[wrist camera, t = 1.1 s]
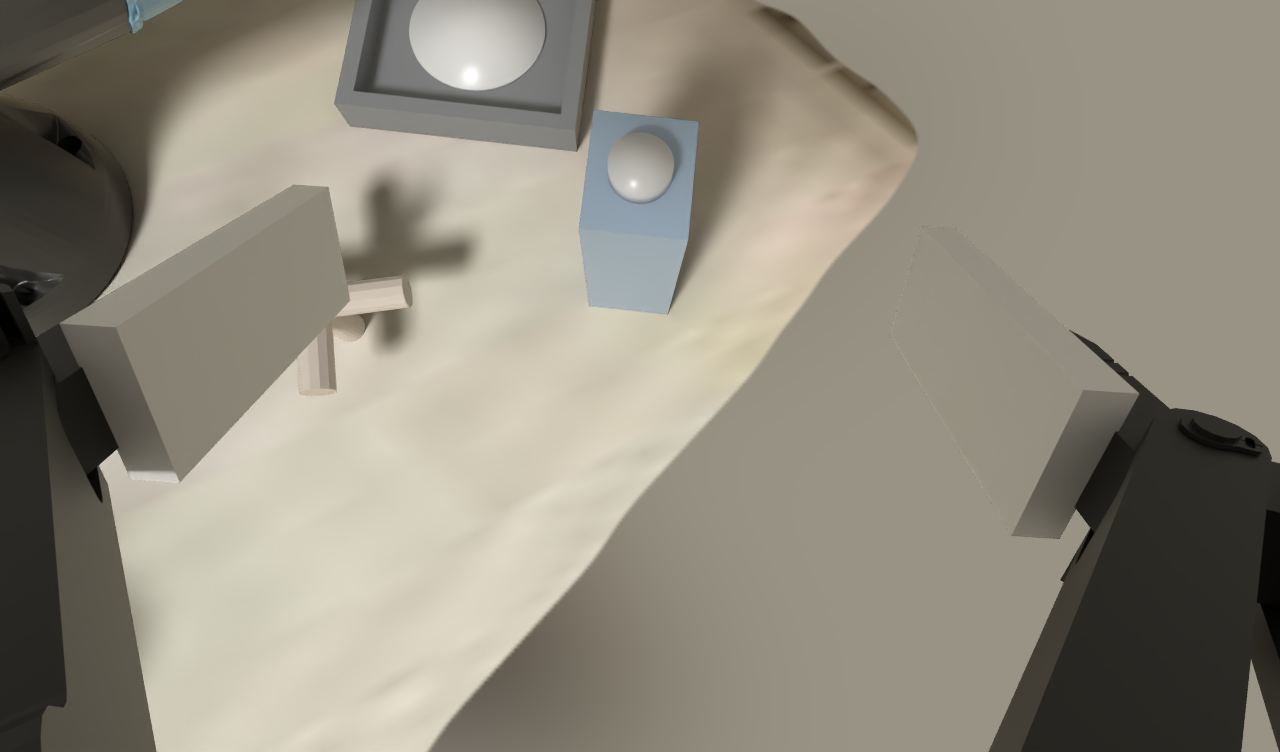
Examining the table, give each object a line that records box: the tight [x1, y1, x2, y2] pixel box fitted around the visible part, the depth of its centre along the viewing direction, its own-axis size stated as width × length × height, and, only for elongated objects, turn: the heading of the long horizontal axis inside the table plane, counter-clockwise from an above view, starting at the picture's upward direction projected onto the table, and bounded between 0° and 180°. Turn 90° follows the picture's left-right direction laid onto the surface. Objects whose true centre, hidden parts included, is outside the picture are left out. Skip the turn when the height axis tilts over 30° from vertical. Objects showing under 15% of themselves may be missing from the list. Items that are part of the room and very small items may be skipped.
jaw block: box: [579, 110, 699, 315], centre depth 36 cm, size 5×6×13 cm
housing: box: [334, 0, 596, 151], centre depth 44 cm, size 15×15×2 cm
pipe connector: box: [297, 275, 412, 396], centre depth 36 cm, size 10×10×10 cm
